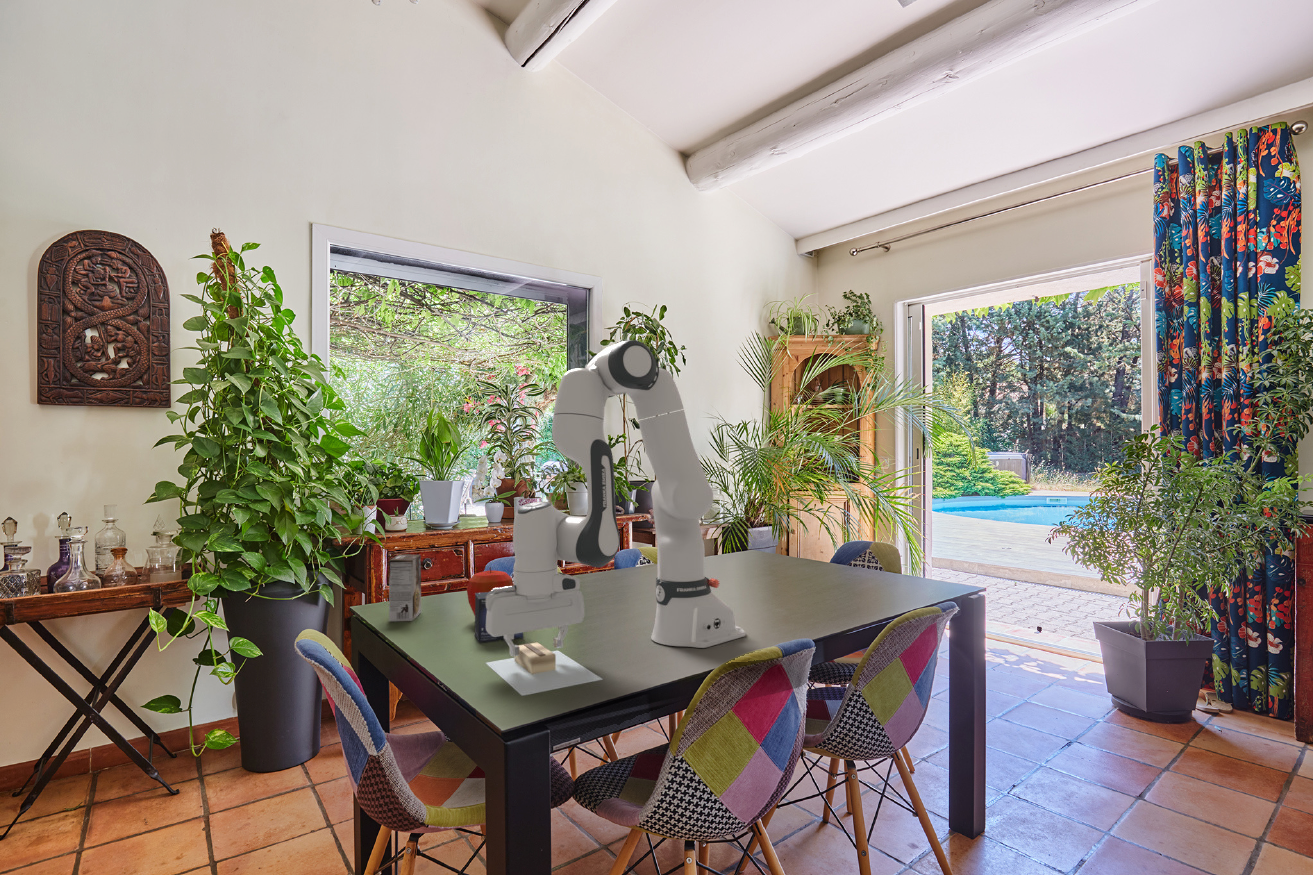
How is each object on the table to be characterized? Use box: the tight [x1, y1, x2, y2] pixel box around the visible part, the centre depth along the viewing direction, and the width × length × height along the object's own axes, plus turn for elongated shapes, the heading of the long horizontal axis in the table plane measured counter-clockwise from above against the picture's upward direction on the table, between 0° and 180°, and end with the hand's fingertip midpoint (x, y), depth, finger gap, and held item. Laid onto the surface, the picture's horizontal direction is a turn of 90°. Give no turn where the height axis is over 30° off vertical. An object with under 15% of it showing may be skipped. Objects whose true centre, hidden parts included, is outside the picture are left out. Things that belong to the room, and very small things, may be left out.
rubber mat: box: [485, 650, 604, 696], centre depth 134 cm, size 16×22×1 cm
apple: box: [466, 567, 514, 616], centre depth 175 cm, size 12×12×14 cm
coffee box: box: [388, 554, 422, 622], centre depth 181 cm, size 9×6×16 cm
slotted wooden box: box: [514, 642, 556, 674], centre depth 137 cm, size 10×5×3 cm, turn 31°
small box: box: [473, 592, 524, 644], centre depth 160 cm, size 11×6×10 cm, turn 114°
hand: (536, 651), depth 137 cm, fingers open, 8 cm apart
